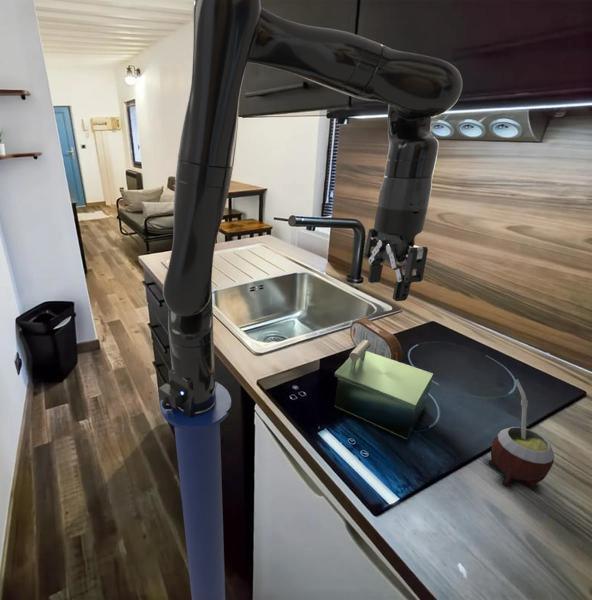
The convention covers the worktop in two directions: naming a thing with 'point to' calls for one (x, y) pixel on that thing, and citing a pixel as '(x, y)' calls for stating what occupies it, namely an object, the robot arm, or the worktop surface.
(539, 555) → the worktop surface
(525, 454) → the mate gourd
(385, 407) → the green box
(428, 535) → the worktop surface
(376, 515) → the worktop surface
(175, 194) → the robot arm
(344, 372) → the lid
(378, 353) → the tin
